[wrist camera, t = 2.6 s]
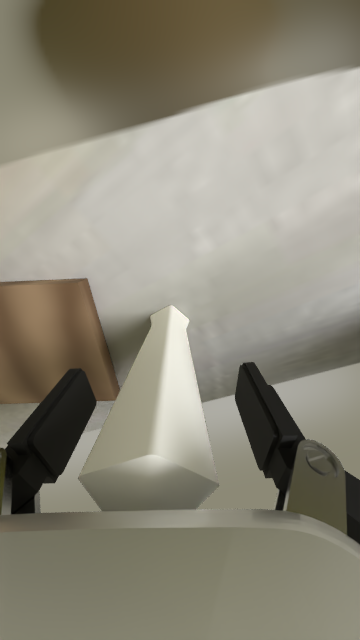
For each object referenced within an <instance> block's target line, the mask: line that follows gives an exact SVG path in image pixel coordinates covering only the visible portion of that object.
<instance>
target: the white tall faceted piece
mask: <svg viewBox="0 0 360 640" xmlns="http://www.w3.org/2000/svg"><path fill="white" fill-rule="evenodd" d="M150 319H151V325H152V326H151V328H150V330H149V332H148V334H147V336H146V338H145V340H144V343H143V345H142V347H141V349H140V351H139V353H138V355H137V357H136V359H135V361H134V363H133V365H132V367H131V369H130V372H129V374H128V376H127V378H126V380H125V382H124V384H123V386H122V388H121V390H120V392H119V394H118V396H117V398H116V401H115V403H114V405H113V407H112V409H111V411H110V413H109V415H108V417H107V419H106V421H105V423H104V425H103V427H102V430H101V432H100V434H99V436H98V438H97V440H96V442H95V444H94V446H93V448H92V450H91V452H90V454H89V456H88V458H87V461H86V463H85V465H84V467H83V469H82V471H81V473H80V475H79V477H78V479H79V481H80V482H81V483H82V485H83V486H84V487H85V489H86V490H87V491H88V493H89V494H90V496H91V497H92V498H93V500H94V501H95V502H96V503H97V505H98V506H99V508H100V509H101V510H102V511H143V510H196V509H197V508H198V507H199V506H200V505H201V504H202V503H203V502H204V501H205V500H206V499H207V498H208V497H209V496H210V495H211V494H212V493H213V492H214V491H215V490H216V489H217V488H218V487H219V483H218V478H217V473H216V469H215V464H214V459H213V454H212V450H211V445H210V440H209V436H208V431H207V427H206V421H205V417H204V412H203V407H202V403H201V398H200V393H199V389H198V384H197V379H196V375H195V370H194V365H193V361H192V356H191V351H190V346H189V342H188V337H187V332H186V328H187V326H188V323H189V319H188V318H187V317H186V316H184V315H183V314H182V313H181V312H180V311H179V310H177V309H176V308H175V307H174V306H172V305H170V306H168V307H166V308H164V309H162V310H160V311H158V312H156V313H154V314H152V315H151V316H150Z"/></svg>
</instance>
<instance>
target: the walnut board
mask: <svg viewBox="0 0 360 640" xmlns="http://www.w3.org/2000/svg"><path fill="white" fill-rule="evenodd" d="M74 368H81V369H82V370H83V371H85V373H86V376H87V378H88V381H89V383H90V386H91V388H92V391H93V393H94V396H95V398H96V401H113V400H116V398H117V396H118V393H119V391H120V389H119V385H118V382H117V379H116V375H115V372H114V368H113V365H112V362H111V358H110V355H109V351H108V348H107V344H106V341H105V338H104V334H103V331H102V327H101V324H100V320H99V317H98V314H97V310H96V307H95V303H94V300H93V297H92V293H91V290H90V286H89V283H88V279H63V280H39V281H15V282H0V404H12V403H41V402H42V401H43V400H44V399H45V397H46V396H47V395H48V394H49V393H50V391H51V390H52V389H53V388H54V387H55V385H56V384H57V383H58V382H59V381H60V379H61V378H62V377H63V376H64V375H65V373H66V372H67V371H68V370H69V369H74Z"/></svg>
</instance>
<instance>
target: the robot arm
mask: <svg viewBox="0 0 360 640" xmlns="http://www.w3.org/2000/svg"><path fill="white" fill-rule="evenodd" d="M235 401H236V404H237V407H238V410H239V413H240V416H241V419H242V422H243V425H244V427H245V430H246V433H247V436H248V439H249V442H250V445H251V448H252V451H253V454H254V457H255V459H256V462H257V465H258V468H259V469H260V470H263V472H264V475H265V478H273V480H274V483H275V485H276V487H277V488H278V492H277V496H276V500H275V505H274V509H273V510H265V509H203V510H202V509H200V510H143V511H100V512H99V511H98V512H61V513H41V512H40V494H39V490H40V488H41V486H42V484H43V483H55V482H56V480H57V478H58V476H59V475H61V474H62V473H63V471H64V469H65V467H66V465H67V463H68V461H69V459H70V457H71V455H72V453H73V451H74V449H75V447H76V445H77V443H78V441H79V439H80V437H81V435H82V433H83V431H84V429H85V427H86V425H87V423H88V421H89V419H90V417H91V415H92V413H93V411H94V409H95V406H96V398H95V396H94V393H93V391H92V388H91V386H90V383H89V381H88V378H87V376H86V373H85V371H83V370H82V369H81V368H74V369H69V370H68V371H67V372H66V373H65V375H64V376H63V377H62V378H61V379H60V381H59V382H58V383H57V384H56V385H55V387H54V388H53V389H52V390H51V391H50V393H49V394H48V395H47V396H46V397H45V399H44V400H43V401H42V402H41V403H40V405H39V406H38V407H37V408H36V409H35V411H34V412H33V413H32V414H31V415H30V417H29V418H28V419H27V420H26V421H25V423H24V424H23V425H22V426H21V427H20V429H19V430H18V431H17V432H16V433H15V435H14V436H13V437H12V438H11V439H10V441H9V442H8V443H7V444H8V446H7V447H6V449H4V448H0V640H360V480H359V479H357V478H356V477H354V476H353V475H351V474H349V473H348V472H346V471H345V470H344V468H343V466H342V464H341V462H340V460H339V459H338V458H337V456H336V455H335V454H334V453H333V452H332V451H331V450H330V449H329V448H327V447H326V446H324V445H323V444H321V443H319V442H317V441H315V440H310V439H307V440H306V439H305V437H304V436H303V434H302V433H301V431H300V429H299V428H298V426H297V425H296V423H295V421H294V420H293V418H292V417H291V415H290V414H289V412H288V410H287V409H286V407H285V406H284V404H283V402H282V401H281V399H280V397H279V396H278V394H277V393H276V391H275V390H274V388H273V387H272V386H271V385H267V383H266V382H265V380H264V378H263V376H262V375H261V373H260V371H259V370H258V368H257V366H256V365H255V363H253V362H249V363H243V365H240V368H239V374H238V380H237V387H236V393H235Z"/></svg>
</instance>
